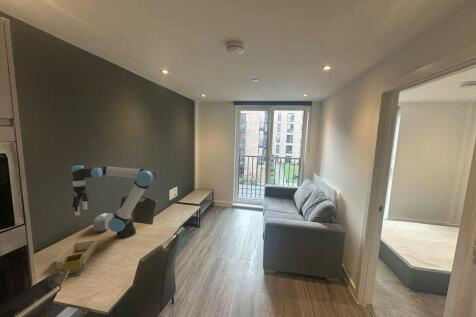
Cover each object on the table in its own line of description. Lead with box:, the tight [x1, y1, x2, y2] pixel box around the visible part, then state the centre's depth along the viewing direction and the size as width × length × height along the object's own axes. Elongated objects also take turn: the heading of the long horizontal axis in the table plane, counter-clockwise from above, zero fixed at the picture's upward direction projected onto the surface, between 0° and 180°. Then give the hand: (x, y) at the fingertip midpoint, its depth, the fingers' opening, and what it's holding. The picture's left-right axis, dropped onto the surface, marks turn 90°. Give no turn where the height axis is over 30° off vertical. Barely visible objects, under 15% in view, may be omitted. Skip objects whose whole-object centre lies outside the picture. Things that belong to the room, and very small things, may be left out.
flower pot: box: [62, 252, 84, 274], centre depth 127 cm, size 9×9×9 cm
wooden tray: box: [52, 238, 100, 270], centre depth 143 cm, size 19×28×6 cm
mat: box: [65, 266, 86, 279], centre depth 127 cm, size 9×8×1 cm
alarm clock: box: [92, 212, 114, 232], centre depth 189 cm, size 21×10×13 cm, turn 14°
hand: (81, 212), depth 158 cm, fingers open, 13 cm apart
